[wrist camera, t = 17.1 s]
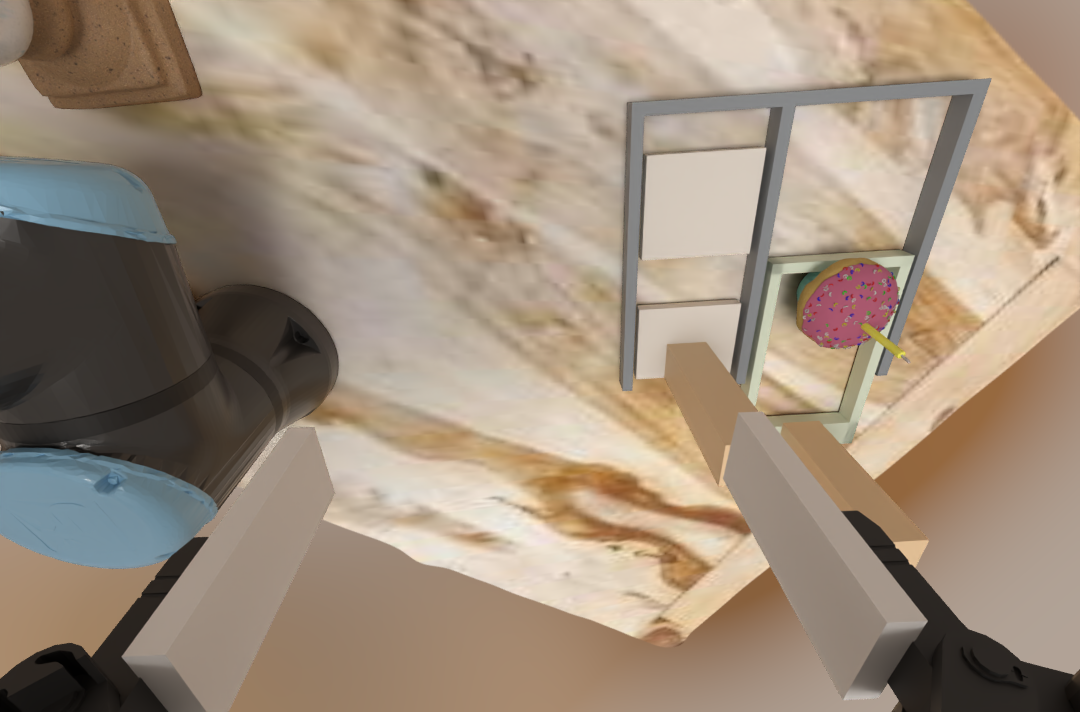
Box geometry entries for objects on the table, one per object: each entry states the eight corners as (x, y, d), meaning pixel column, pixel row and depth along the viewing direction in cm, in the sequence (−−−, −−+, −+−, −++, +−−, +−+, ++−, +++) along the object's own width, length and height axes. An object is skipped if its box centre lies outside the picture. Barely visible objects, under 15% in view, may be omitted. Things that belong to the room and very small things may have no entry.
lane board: (874, 365, 50) (886, 375, 48) (619, 381, 51) (622, 391, 49) (969, 79, 37) (991, 78, 36) (627, 102, 38) (632, 102, 36)
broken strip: (725, 367, 50) (811, 481, 35) (633, 373, 50) (678, 488, 35) (760, 146, 39) (904, 171, 24) (643, 154, 39) (714, 183, 24)
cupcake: (871, 301, 47) (971, 358, 36) (789, 341, 49) (861, 405, 38) (851, 229, 43) (955, 268, 32) (763, 275, 45) (835, 326, 34)
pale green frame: (839, 435, 55) (966, 569, 39) (730, 442, 55) (812, 577, 39) (899, 249, 44) (1107, 329, 28) (763, 258, 44) (894, 342, 28)
